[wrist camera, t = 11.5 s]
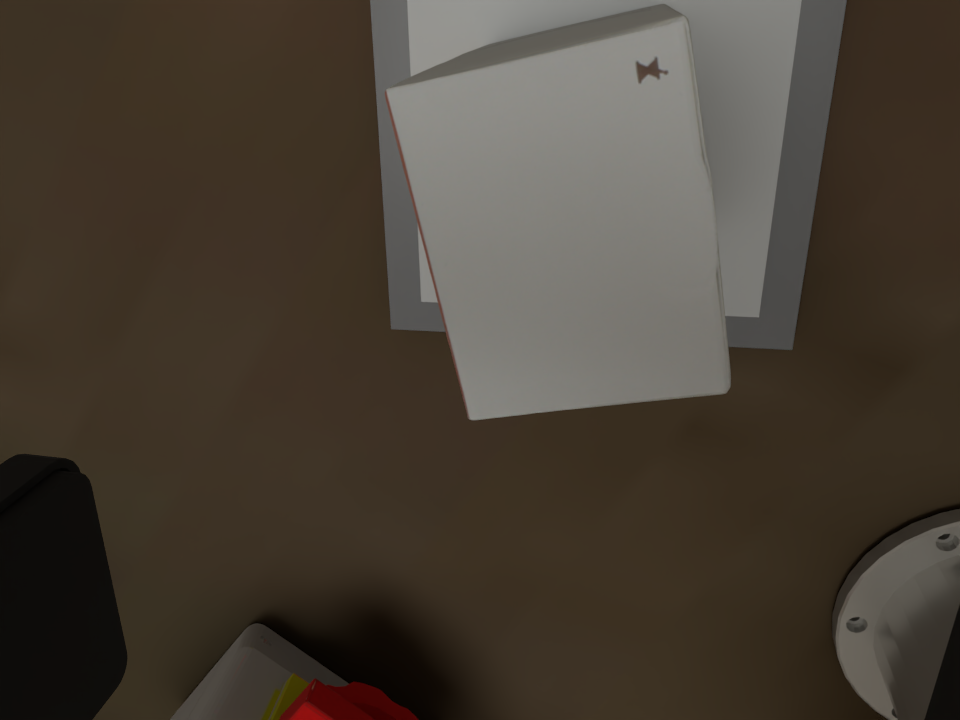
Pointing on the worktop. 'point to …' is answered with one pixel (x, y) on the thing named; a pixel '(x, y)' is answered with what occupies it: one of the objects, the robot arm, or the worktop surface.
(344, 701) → the electrical switch box
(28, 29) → the worktop surface
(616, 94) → the small box
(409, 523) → the worktop surface
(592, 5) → the case
